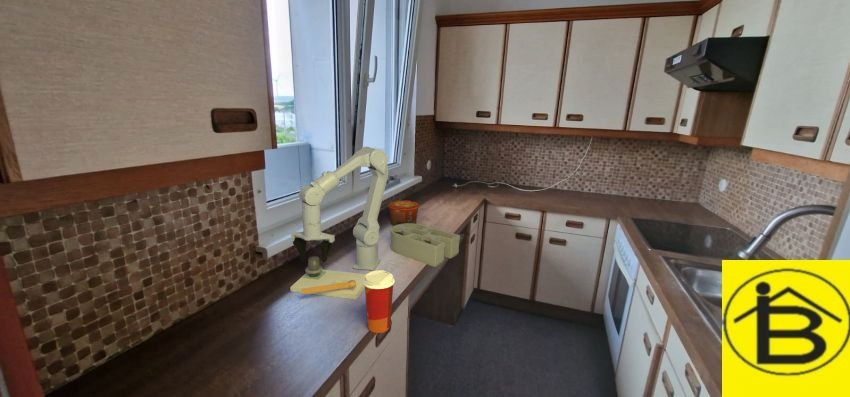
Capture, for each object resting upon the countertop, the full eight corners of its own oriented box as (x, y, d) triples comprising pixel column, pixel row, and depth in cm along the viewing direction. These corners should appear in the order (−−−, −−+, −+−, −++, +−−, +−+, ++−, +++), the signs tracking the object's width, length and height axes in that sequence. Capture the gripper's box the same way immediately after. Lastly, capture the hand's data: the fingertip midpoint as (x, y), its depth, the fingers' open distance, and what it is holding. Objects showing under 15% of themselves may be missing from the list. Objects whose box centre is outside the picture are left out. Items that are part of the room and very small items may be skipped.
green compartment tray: (435, 268, 133) (436, 247, 130) (382, 249, 149) (382, 229, 147) (459, 255, 145) (460, 235, 143) (407, 238, 162) (408, 220, 160)
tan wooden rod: (301, 291, 107) (301, 287, 107) (355, 283, 113) (355, 279, 113) (302, 295, 105) (302, 291, 105) (356, 287, 111) (356, 283, 111)
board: (311, 272, 126) (311, 266, 125) (370, 278, 122) (370, 272, 122) (290, 291, 113) (290, 284, 112) (356, 299, 109) (356, 292, 108)
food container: (421, 220, 189) (421, 200, 186) (416, 229, 174) (416, 208, 171) (391, 218, 191) (392, 198, 188) (384, 227, 176) (384, 206, 173)
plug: (309, 270, 123) (309, 254, 122) (325, 271, 123) (324, 255, 121) (302, 277, 118) (302, 261, 117) (318, 279, 117) (318, 262, 116)
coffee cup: (379, 314, 102) (379, 266, 98) (400, 326, 96) (401, 275, 93) (357, 327, 95) (356, 276, 92) (378, 340, 90) (377, 287, 86)
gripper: (285, 223, 113) (287, 262, 117) (327, 227, 111) (329, 267, 114) (296, 217, 120) (298, 254, 124) (336, 220, 118) (338, 258, 121)
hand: (314, 259), depth 119 cm, fingers open, 7 cm apart
